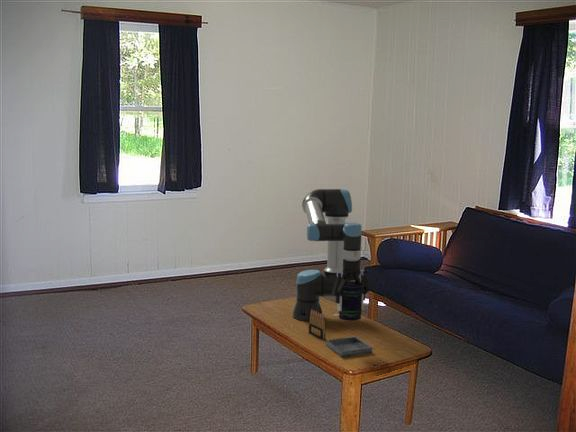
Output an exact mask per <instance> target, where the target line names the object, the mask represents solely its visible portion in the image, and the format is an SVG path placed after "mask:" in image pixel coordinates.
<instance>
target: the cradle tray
mask: <svg viewBox="0 0 576 432" xmlns="http://www.w3.org/2000/svg"><path fill="white" fill-rule="evenodd" d="M325 347H327V348H328V349H330V350H331V351H333V352H334V353H335V354H336V355H338V356H339V357H340V358H349V357H355V356H360V355H368V354H373V346H371V345H370V344H368V343H366V341H363V339H360V338H359V337H358V336H356V335H354V336H346V337H340V338H332V339H325Z"/></svg>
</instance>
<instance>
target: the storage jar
mask: <svg viewBox="0 0 576 432" xmlns="http://www.w3.org/2000/svg"><path fill="white" fill-rule="evenodd" d="M340 284H341V283H340ZM362 285H363V283H362V284H357V283H356V281H355V280H351V281H348V283H347V284H346V286H343V291H342V293H341V295H340V296H342V311H339V310H338V318H339V319H340V320H343V321H346V322H347V321H348V322H357V321H359V320H361V319H362V310H363V309H361V308H362V306H361V297H362ZM341 286H342V285H341Z"/></svg>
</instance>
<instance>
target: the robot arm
mask: <svg viewBox="0 0 576 432" xmlns="http://www.w3.org/2000/svg"><path fill="white" fill-rule="evenodd" d="M301 206H302V211H303V212H304V213H305V215H306V218H307V220H308V224H307V226H306V239H307V240H308V241H309V242H327V261H326V262H327V263H326V265H327V266H326V267H325V268H324V269H323V272H322V273H321V271H320V270H318V269H308V270H307V269H306V270H303V271H302V270H301V271H300V272H299V273H298V274H297V275H296V282H295V283H296V297H295V298H296V299H295V300H296V302H295V304H294V307H293V310H292V318H294V319H296V320H298V321H299V320H300V321H305V322H308V321H309V322H310V314H311V309H312V310H313V311H314V310H315V313H316V311H317V314H318V312H319V313H320V314H321V313H322V314H323V309H322V306H321V303H320V298H321V297H335V303H336V310H337V311H338V312H339V311H342V296H340V295H341V293H342V291H343V286H346V284H347V283H348V281H354V282H356V283H357V284H362V297H361V306H362V308H361V309H362V310H363V309H364V301H366V295H367V293H370V286H369V282H368V278H367V272H368V271H366V270H365V269H361V256H362V255H361V254H362V252H361V251H362V250H361V249H362V234H363V231H362V224H360V223H357V222H346V220H347V219H348V218H349V214H350V213H352V211H353V202H352V197H351V192H350V191H349V190H347V189H345V188H344V189H342V188H333V189H332V188H327V189H325V188H319V189H314V190H312V191H310V192H308V193H307V194H306V195H305V197H304V198H303V200H302V205H301ZM325 217H326V218H325ZM326 219H327V222H326ZM359 276H361V278H360V277H359ZM361 281H362V282H361ZM340 283H341V284H340ZM341 285H342V286H341Z"/></svg>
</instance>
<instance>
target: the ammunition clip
mask: <svg viewBox="0 0 576 432" xmlns="http://www.w3.org/2000/svg"><path fill="white" fill-rule="evenodd" d="M325 327H326V321H325V314H324V313H323V312H322V313H321V314H320V313H319V312H318V314H317V311H316V313H315V310H314V311H313V310H312V309H311V314H310V321H309V323H308V334H309V335H311V336H313V337H314V338H317V339H320V340H322V341H323V340H326V328H325Z"/></svg>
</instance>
